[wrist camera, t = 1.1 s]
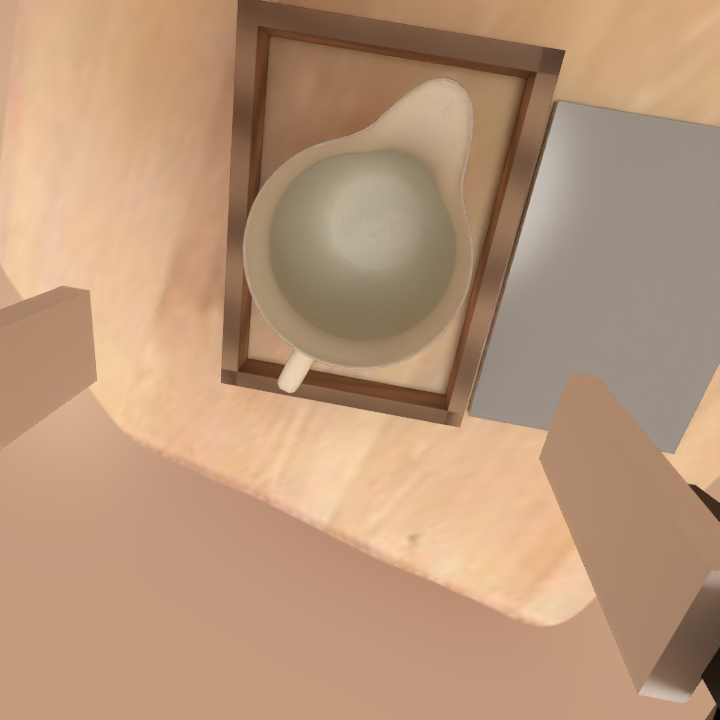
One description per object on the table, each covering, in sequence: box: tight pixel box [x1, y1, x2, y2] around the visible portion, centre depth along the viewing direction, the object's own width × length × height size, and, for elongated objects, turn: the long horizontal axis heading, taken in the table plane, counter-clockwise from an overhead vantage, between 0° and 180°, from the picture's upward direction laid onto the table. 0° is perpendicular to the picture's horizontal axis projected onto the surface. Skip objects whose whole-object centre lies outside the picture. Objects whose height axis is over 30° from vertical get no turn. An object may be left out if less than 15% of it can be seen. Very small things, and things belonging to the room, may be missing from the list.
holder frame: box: [221, 0, 565, 427], centre depth 33 cm, size 24×18×2 cm
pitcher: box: [243, 77, 473, 393], centre depth 28 cm, size 11×18×14 cm, turn 151°
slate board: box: [468, 101, 720, 454], centre depth 34 cm, size 22×16×1 cm
